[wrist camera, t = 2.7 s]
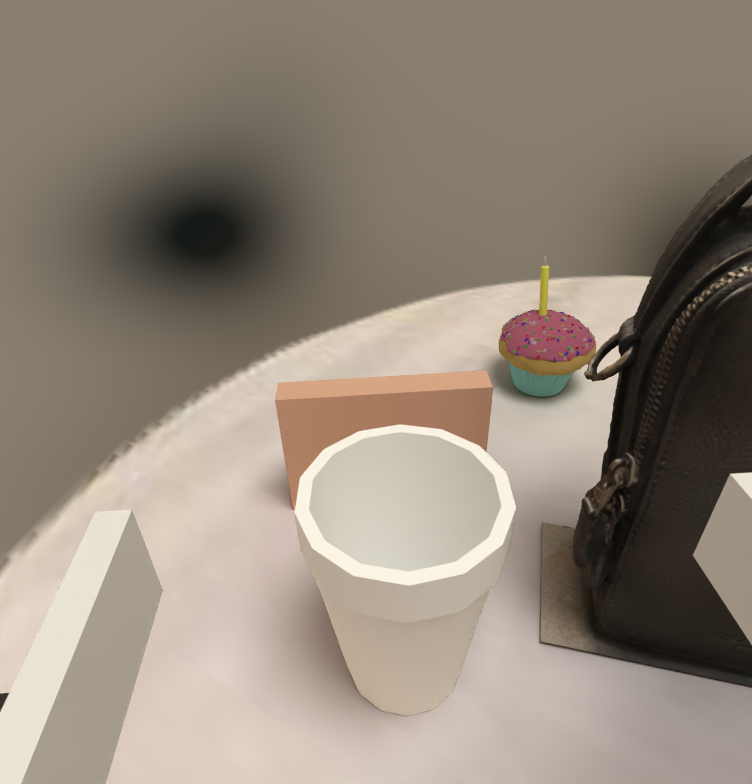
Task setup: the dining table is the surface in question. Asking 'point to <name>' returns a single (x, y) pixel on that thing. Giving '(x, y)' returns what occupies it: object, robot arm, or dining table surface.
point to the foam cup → (404, 555)
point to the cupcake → (545, 347)
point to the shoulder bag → (666, 459)
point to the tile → (377, 411)
